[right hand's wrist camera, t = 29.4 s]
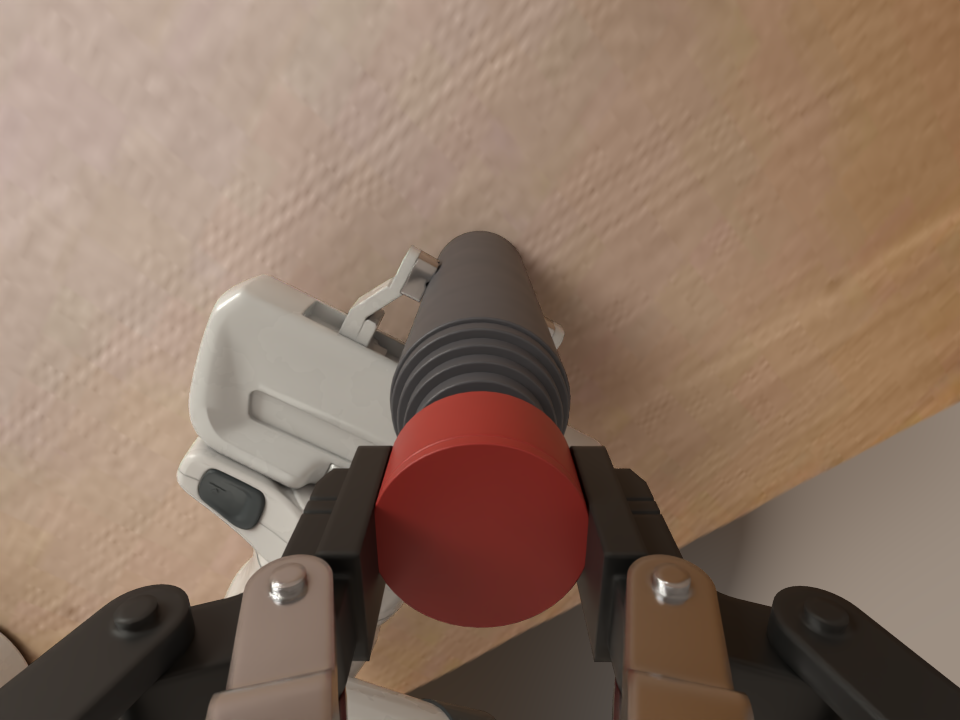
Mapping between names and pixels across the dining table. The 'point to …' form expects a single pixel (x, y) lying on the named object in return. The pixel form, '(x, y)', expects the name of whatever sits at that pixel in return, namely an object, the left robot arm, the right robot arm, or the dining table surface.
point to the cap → (481, 512)
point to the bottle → (479, 335)
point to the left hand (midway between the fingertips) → (488, 288)
